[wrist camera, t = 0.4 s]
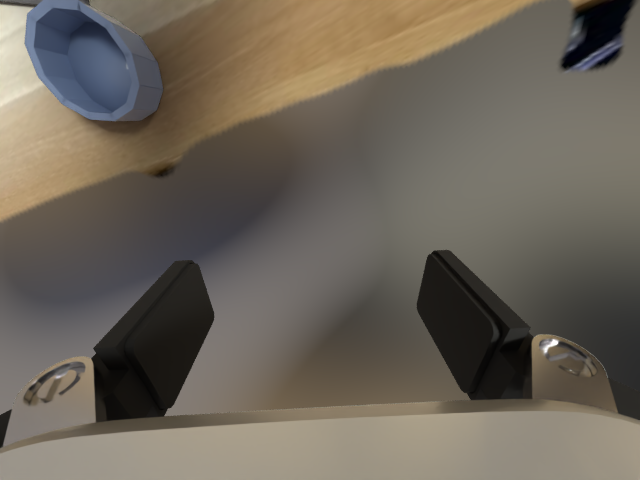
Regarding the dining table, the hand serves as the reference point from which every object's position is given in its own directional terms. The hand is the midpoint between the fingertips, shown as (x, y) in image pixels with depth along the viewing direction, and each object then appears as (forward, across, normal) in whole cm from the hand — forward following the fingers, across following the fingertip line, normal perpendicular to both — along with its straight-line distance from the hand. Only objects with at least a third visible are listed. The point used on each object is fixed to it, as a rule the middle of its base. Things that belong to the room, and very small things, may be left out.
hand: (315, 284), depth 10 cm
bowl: (+30, +25, -12) cm, 41 cm away
